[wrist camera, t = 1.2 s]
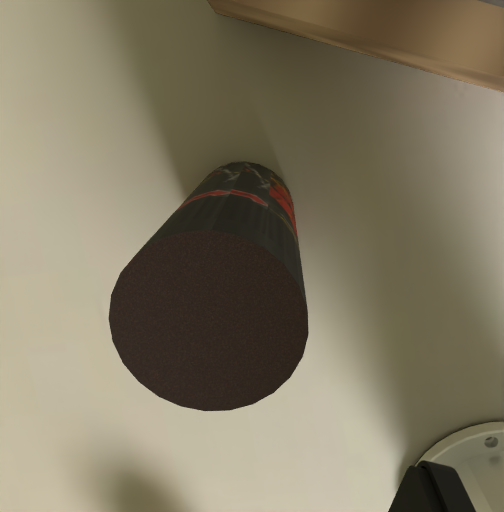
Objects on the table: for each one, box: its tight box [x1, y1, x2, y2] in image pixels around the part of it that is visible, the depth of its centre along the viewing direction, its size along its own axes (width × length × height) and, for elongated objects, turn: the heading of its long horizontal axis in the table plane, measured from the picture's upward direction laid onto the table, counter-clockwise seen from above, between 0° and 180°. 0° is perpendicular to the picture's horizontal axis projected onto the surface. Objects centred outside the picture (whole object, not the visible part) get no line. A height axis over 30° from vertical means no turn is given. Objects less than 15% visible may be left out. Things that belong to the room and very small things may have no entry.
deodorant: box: [109, 162, 308, 411], centre depth 21 cm, size 6×6×15 cm
